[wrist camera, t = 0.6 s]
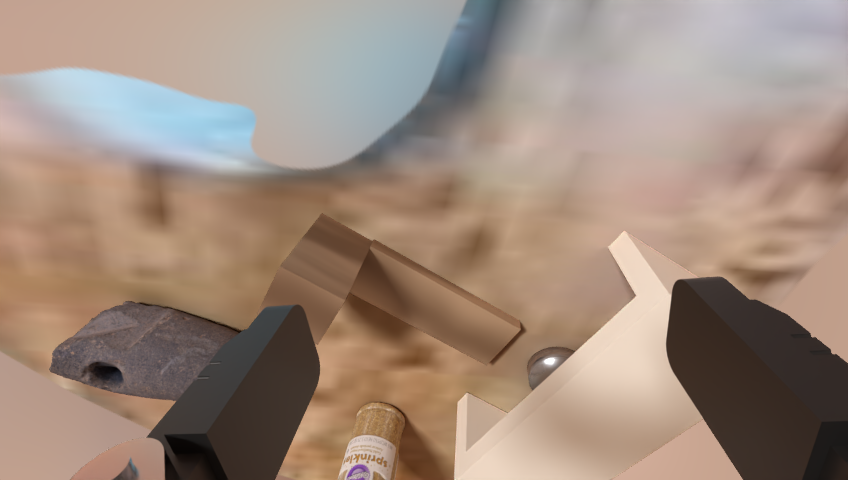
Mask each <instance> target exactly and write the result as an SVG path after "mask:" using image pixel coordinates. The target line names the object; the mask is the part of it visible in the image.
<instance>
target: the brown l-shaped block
mask: <svg viewBox="0 0 848 480" xmlns="http://www.w3.org/2000/svg"><path fill="white" fill-rule="evenodd" d="M349 293H351V294H353V295H355V296H357V297H359V298H360V299H362V300H364V301H366V302H368V303H370V304H372V305H374V306H375V307H377V308H379V309H381V310H383V311H385V312H387V313H389V314H391V315H392V316H394V317H396V318H398V319H400V320H402V321H404V322H406V323H408V324H409V325H411V326H413V327H415V328H417V329H419V330H421V331H423V332H424V333H426V334H428V335H430V336H432V337H434V338H436V339H438V340H440V341H441V342H443V343H445V344H447V345H449V346H451V347H453V348H455V349H457V350H458V351H460V352H462V353H464V354H466V355H468V356H470V357H472V358H473V359H475V360H477V361H479V362H481V363H483V364H485V365H487V364H488V363H489V362H490V361H491V360H492V359H493V358H494V357H495V356H496V355H497V354H498V353H499V352H500V351H501V350H502V349H503V348H504V347H505V346H506V345H507V344H508V342H509V341H510V340H511V339H512V338H513V337H514V336H515V335H516V334H517V333H518V332H519V331H520V330H521V327H520V321H519V320H517V319H515V318H514V317H512V316H510V315H508V314H507V313H505V312H503V311H501V310H499V309H498V308H496V307H494V306H492V305H490V304H489V303H487V302H485V301H483V300H481V299H480V298H478V297H476V296H474V295H473V294H471V293H469V292H467V291H465V290H464V289H462V288H460V287H458V286H456V285H455V284H453V283H451V282H449V281H447V280H446V279H444V278H442V277H440V276H439V275H437V274H435V273H433V272H431V271H430V270H428V269H426V268H424V267H422V266H421V265H419V264H417V263H415V262H413V261H412V260H410V259H408V258H406V257H405V256H403V255H401V254H399V253H397V252H396V251H394V250H392V249H390V248H388V247H387V246H385V245H383V244H381V243H379V242H378V241H376V240H373V241H371V240H369V239H367V238H366V237H364V236H362V235H360V234H358V233H357V232H355V231H353V230H351V229H349V228H348V227H346V226H344V225H342V224H340V223H339V222H337V221H335V220H333V219H331V218H330V217H328V216H326V215H324V214H321V215H320V217H319V218H318V219H317V220H316V222H315V223H314V224H313V225H312V227H311V228H310V229H309V230H308V232H307V233H306V234H305V235H304V237H303V238H302V239H301V240H300V242H299V243H298V244H297V245H296V247H295V248H294V249H293V250H292V252H291V253H290V254H289V255H288V257H287V258H286V259H285V260H284V262H283V263H282V264H281V266H280V267H279V269H278V271H277V273H276V275H275V277H274V280H273V282H272V284H271V286H270V288H269V290H268V292H267V294H266V296H265V298H264V300H263V302H262V304H261V306H260V308H259V311H258V313H257V315H259V314H260V312H261V311H262V310H263V309H264V308H265V307H268V306H283V305H301V306H302V307H303V309H304V311H305V313H306V316H307V320H308V323H309V327H310V330H311V333H312V337H313V340H314V343H315V344H317V345H318V344H319V342H320V340H321V339H322V337H323V336H324V334H325V332H326V331H327V329H328V328H329V326H330V324H331V323H332V321H333V319H334V318H335V316H336V315H337V313H338V311H339V310H340V308H341V307H342V305H343V303H344V302H345V300H346V298H347V296H348V294H349Z"/></svg>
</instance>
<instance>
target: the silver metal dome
mask: <svg viewBox="0 0 848 480" xmlns="http://www.w3.org/2000/svg"><path fill="white" fill-rule="evenodd" d="M574 353H575V351H573V350H571V349H568V348H563V347H550V348H546V349H543V350H541V351H539V352H537V353H535V354H534V355H533V356H532V357H531V358H530V360H529V362H528V365H527V371H528V378H529V384H530V387H531V388H532V390H534V389H535V388H536V387H537V386H539V385H540V384H541V383H542V382H543V381H544V380H545V379H546V378H547V377H548V376H550V375H551V374H552V373H553V372H554V371H555V370H556V369H557V368H558V367H559V366H560V365H562V364H563V363H564V362H565V361H566V360H567V359H568V358H569V357H570V356H571V355H572V354H574Z"/></svg>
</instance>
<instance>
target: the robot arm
mask: <svg viewBox="0 0 848 480" xmlns="http://www.w3.org/2000/svg"><path fill="white" fill-rule="evenodd" d="M666 352H667V357H668V361H669V364H670V367H671V369H672V371H673V373H674V374H675V376H676V377H677V379H678V381H679V382H680V384H681V385H682V387H683V388H684V390H685V391H686V393H687V394H688V396H689V397H690V399H691V400H692V402H693V404H694V405H695V407H696V408H697V410H698V411H699V413H700V414H701V416H702V417H703V419H704V420H705V422H706V423H707V425H708V426H709V428H710V429H711V431H712V433H713V434H714V436H715V437H716V439H717V440H718V442H719V443H720V445H721V446H722V448H723V449H724V451H725V453H726V454H727V455H728V457H729V459H730V460H731V462H732V463H733V465H734V466H735V468H736V469H737V471H738V472H739V474H740V476H741V477H742V479H743V480H848V363H847V362H845V361H844V360H843V359H841V358H840V357H839V356H838V355H837V354H835V355H834V354H832V353H831V350H830V349H829V348H828V347H827V346H825V345H824V344H823V343H822V342H821V341H819V340H818V339H817V338H816V337H814V338H812V337H811V335H810V333H809V332H808V331H807V330H806V329H804V328H803V327H802V326H801V325H800V324H798V323H797V322H796V321H795V320H793V319H792V318H791V317H790V316H788V315H787V314H785V313H783V312H781V311H779V310H777V309H775V308H772V307H770V306H768V305H766V304H764V303H762V302H760V301H758V300H749V299H748V298H747V297H746V296H745V295H743V294H742V293H741V292H740V291H739V290H738V289H736V288H735V287H734V286H733V285H732V284H731V283H729V282H728V281H727V280H726V279H724V278H723V277H705V278H690V279H679V280H677V281H676V282H675V283H674V285H673V289H672V296H671V304H670V312H669V321H668V329H667V337H666ZM319 375H320V362H319V357H318V353H317V350H316V347H315V343H314V340H313V337H312V333H311V330H310V327H309V323H308V320H307V316H306V313H305V311H304V309H303V307H302V306H301V305H283V306H268V307H265V308H264V309H263V310H262V311H261V312H260V314H259V315H258V316H257V318H256V319H255V320H254V321H253V323H252V324H251V325H250V326H249V328H248V329H246V330H243V331H242V332H240V333H239V334H238V335H236V336H235V337H234V338H232V339H231V340H229V341H228V342H227V343H225V344H224V345H223V346H222V347H221V349H220V350H219V351H218V352H217V353H216V355H215V356H214V357H213V358H212V359H211V361H210V364H209V365H206V367H205V368H204V369H203V370H202V371H201V373H200V374H199V375H198V376H197V380H194V381H193V382H192V383H191V385H190V386H189V387H188V388H187V389H186V391H185V392H184V393H183V394H182V395H181V397H180V398H179V399H178V400H177V401H176V403H175V404H174V405H173V406H172V407H171V409H170V410H169V411H168V412H167V413H166V415H165V416H164V417H163V418H162V419H161V421H160V422H159V423H158V424H157V425H156V427H155V428H154V429H153V430H152V431H151V433H150V434H149V435H148V436H147V437H146V438H138V439H132V440H129V441H126V442H123V443H121V444H118V445H116V446H114V447H112V448H110V449H108V450H106V451H104V452H103V453H101V454H99V455H98V456H97V457H95V458H94V459H92V460H91V461H89V462H88V463H87V464H86V465H85V466H83V467H82V468H81V469H80V470H79V471H78V472H77V473H76V474H75V475H74V476H73V477H72V478H71V479H70V480H275V478H276V476H277V474H278V472H279V469H280V467H281V465H282V463H283V460H284V458H285V456H286V454H287V452H288V449H289V447H290V445H291V443H292V440H293V438H294V436H295V434H296V431H297V429H298V427H299V425H300V423H301V420H302V418H303V416H304V414H305V411H306V409H307V407H308V405H309V403H310V400H311V398H312V396H313V394H314V391H315V389H316V387H317V384H318V381H319Z"/></svg>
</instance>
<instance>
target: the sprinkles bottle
mask: <svg viewBox="0 0 848 480" xmlns="http://www.w3.org/2000/svg"><path fill="white" fill-rule="evenodd" d="M404 427H405V419H404V417H403V415H402V413H401V412H399V411H398V410H397V409H396V408H395V407H393V406H391V405H389V404H385V403H380V402H377V403H375V402H374V403H369V404H366V405H364V406H363V407H361V408H360V410H359V411H358V413H357V417H356V423H355V427H354V430H353V434H352V437H351V440H350V442H349V444H348V447H347V451H346V454H345V457H344V460H343V464H342V467H341V470H340V474H339V477H338V480H395V475H396V470H397V464H398V458H399V454H398V452H399V446H400V442H401V436H402V432H403V430H404Z"/></svg>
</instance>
